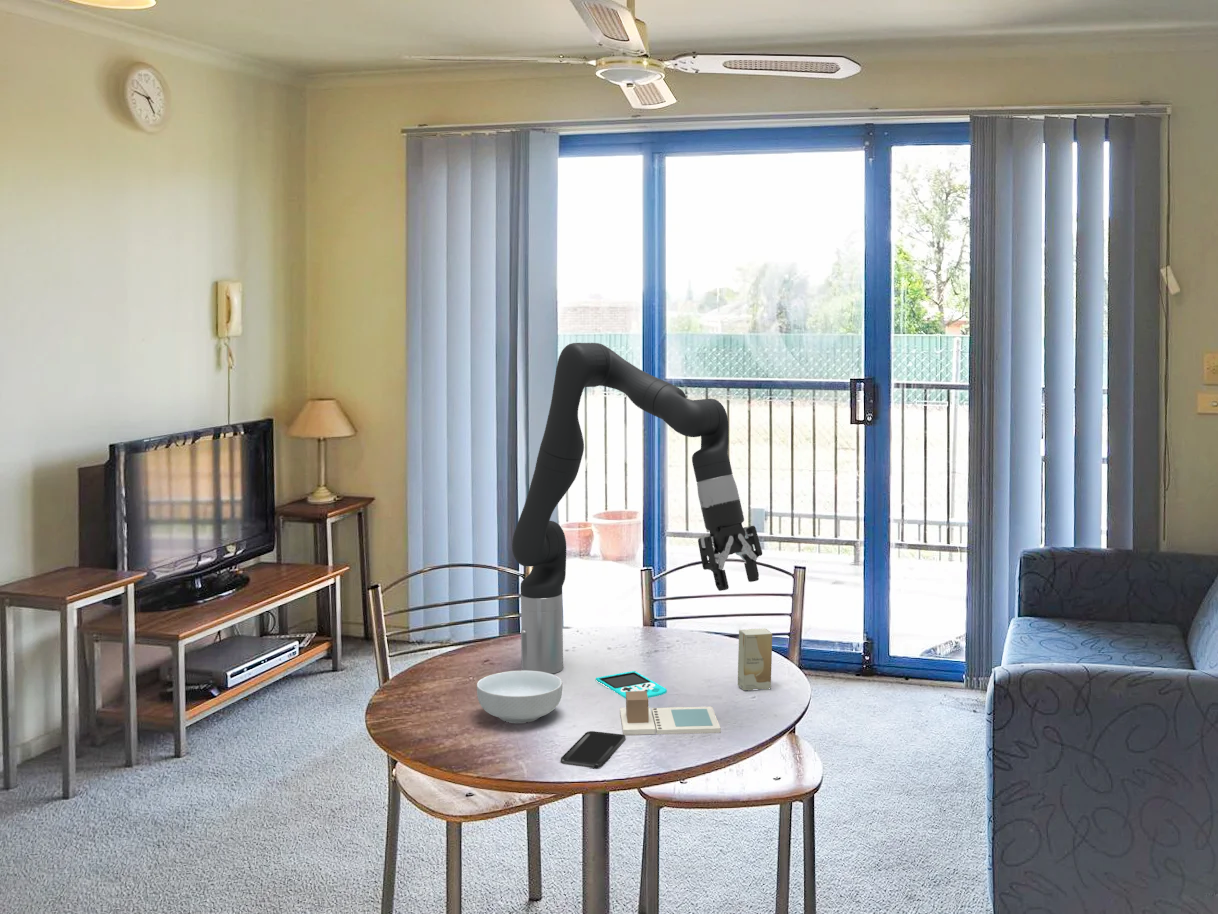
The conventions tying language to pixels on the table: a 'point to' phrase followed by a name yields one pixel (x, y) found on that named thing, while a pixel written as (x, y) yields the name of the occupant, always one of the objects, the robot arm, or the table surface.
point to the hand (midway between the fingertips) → (738, 585)
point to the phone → (593, 749)
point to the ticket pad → (685, 720)
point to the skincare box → (754, 659)
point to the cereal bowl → (519, 695)
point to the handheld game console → (631, 684)
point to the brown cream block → (637, 714)
